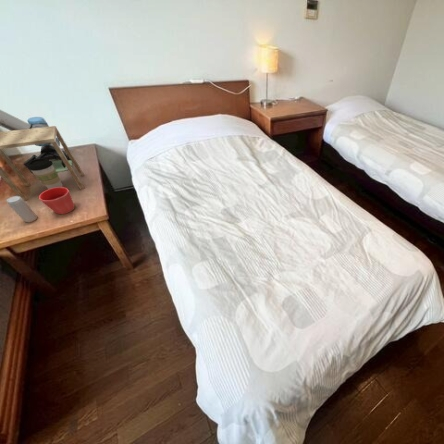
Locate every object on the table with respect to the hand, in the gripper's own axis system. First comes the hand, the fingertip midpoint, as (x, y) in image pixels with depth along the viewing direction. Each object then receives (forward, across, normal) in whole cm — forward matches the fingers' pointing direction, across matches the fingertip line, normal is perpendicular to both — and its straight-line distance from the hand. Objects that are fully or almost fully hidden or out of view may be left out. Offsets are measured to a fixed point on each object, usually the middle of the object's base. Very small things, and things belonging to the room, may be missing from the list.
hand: (47, 168), depth 132 cm
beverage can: (+32, +8, -8) cm, 34 cm away
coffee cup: (+7, 0, -8) cm, 11 cm away
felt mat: (-16, 0, -8) cm, 18 cm away
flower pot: (+30, -5, -8) cm, 32 cm away
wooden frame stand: (+7, 0, -8) cm, 10 cm away
